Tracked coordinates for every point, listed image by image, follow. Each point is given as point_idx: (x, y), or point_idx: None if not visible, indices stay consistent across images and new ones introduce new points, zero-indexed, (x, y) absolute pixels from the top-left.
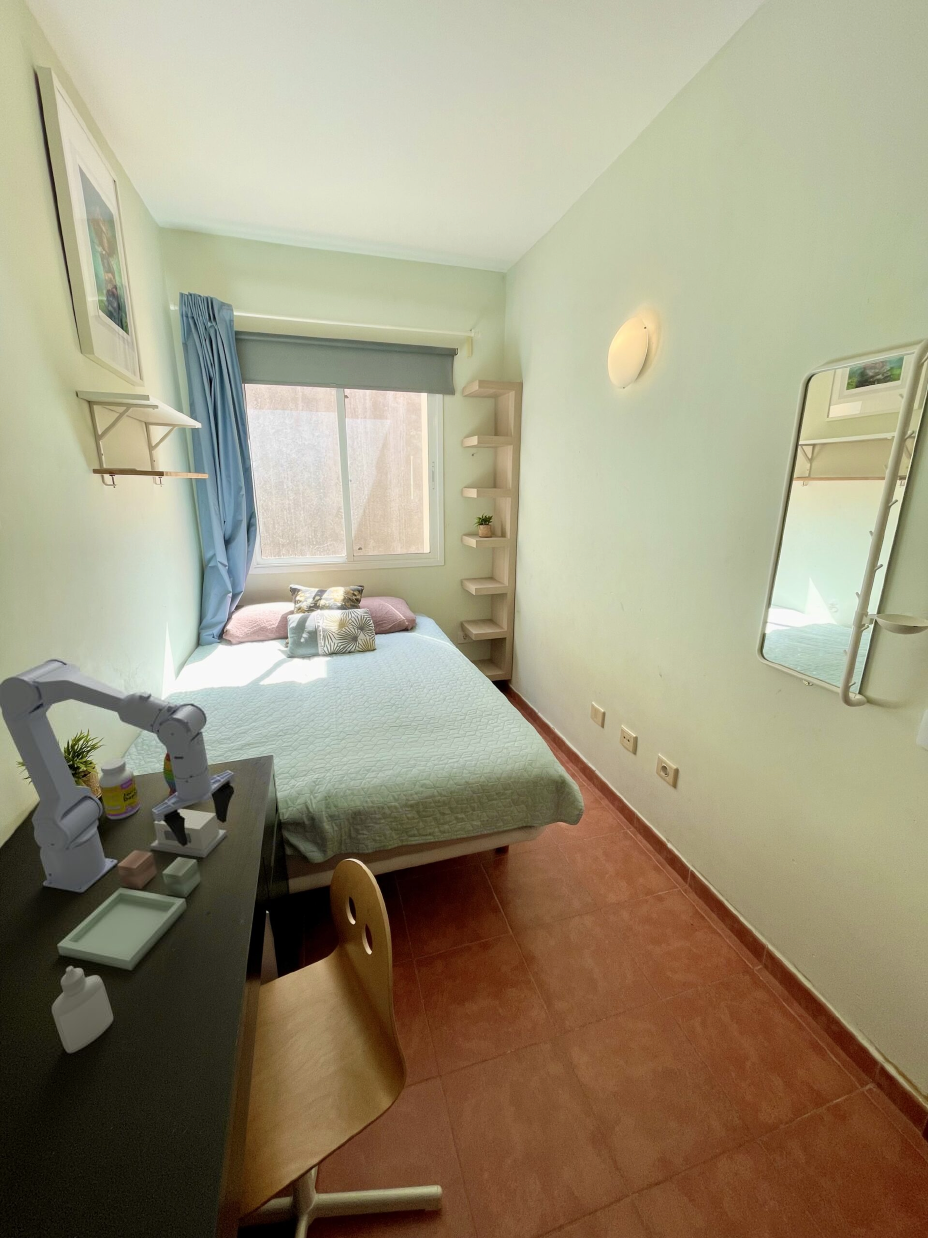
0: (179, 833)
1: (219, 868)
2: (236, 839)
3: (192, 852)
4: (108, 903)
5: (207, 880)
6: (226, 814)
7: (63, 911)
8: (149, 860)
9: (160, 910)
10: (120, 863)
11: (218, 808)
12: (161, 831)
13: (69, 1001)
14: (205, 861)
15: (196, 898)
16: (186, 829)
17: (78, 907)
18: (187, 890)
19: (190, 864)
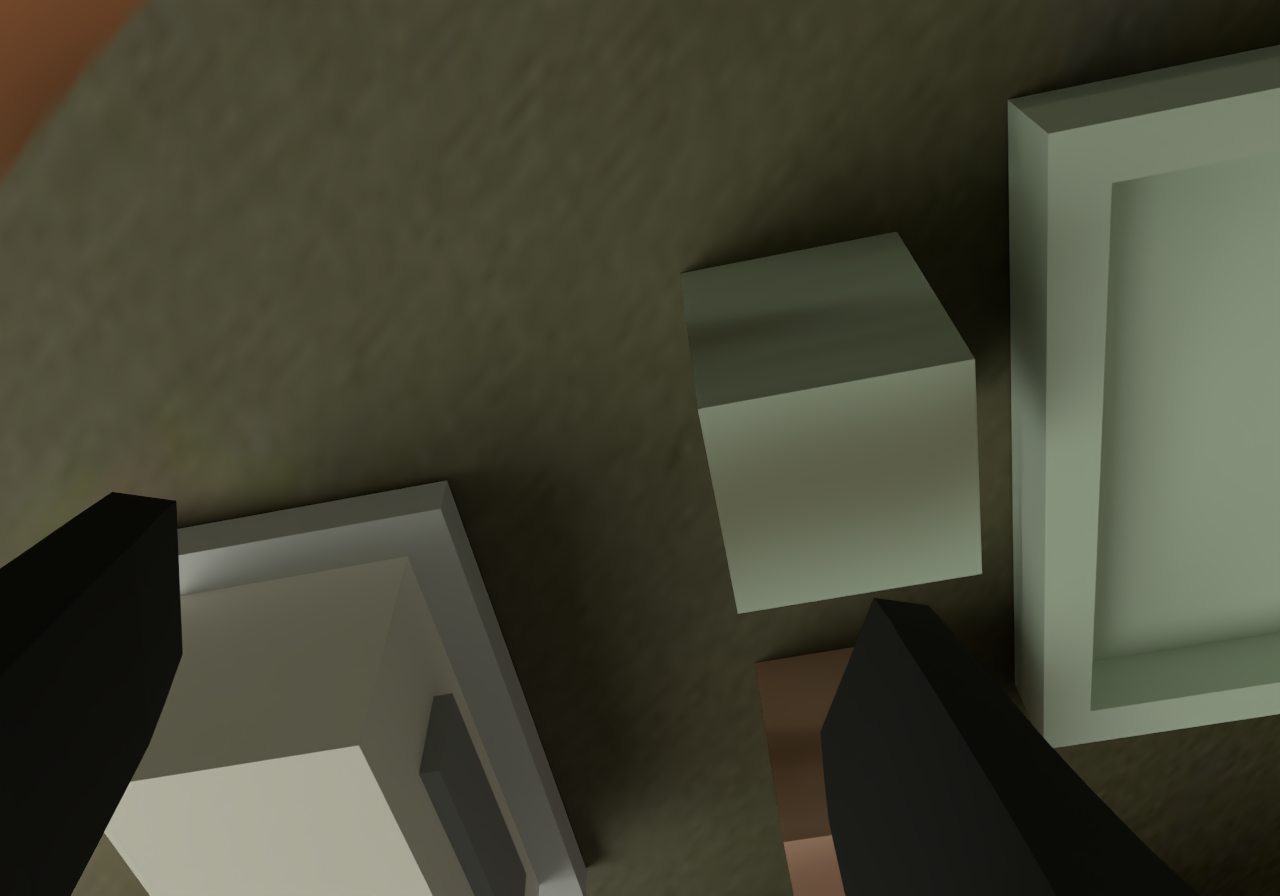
0: (1148, 866)
1: (471, 238)
2: (104, 408)
3: (478, 608)
4: (1204, 693)
5: (646, 216)
6: (4, 571)
7: (1196, 857)
8: (819, 794)
9: (1123, 296)
10: None
11: (36, 821)
12: None
13: None
14: (474, 439)
15: (873, 116)
16: (420, 840)
17: (1154, 819)
18: (865, 261)
19: (785, 411)
